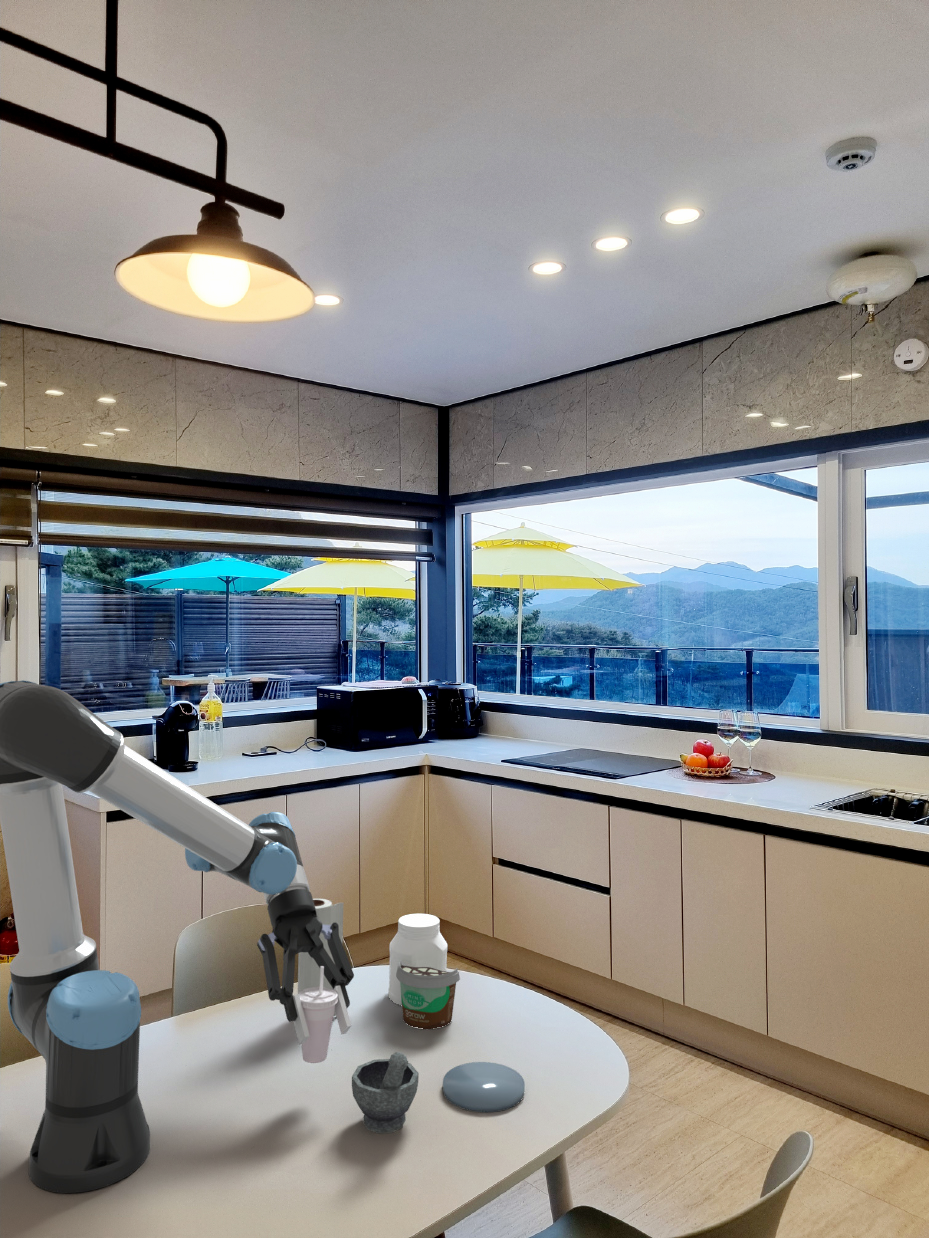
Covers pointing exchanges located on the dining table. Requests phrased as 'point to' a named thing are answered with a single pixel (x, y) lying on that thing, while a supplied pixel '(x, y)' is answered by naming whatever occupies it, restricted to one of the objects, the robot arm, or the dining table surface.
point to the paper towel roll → (307, 964)
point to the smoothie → (318, 1020)
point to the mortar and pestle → (385, 1092)
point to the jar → (416, 948)
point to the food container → (427, 995)
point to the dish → (483, 1087)
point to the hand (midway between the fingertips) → (325, 1034)
